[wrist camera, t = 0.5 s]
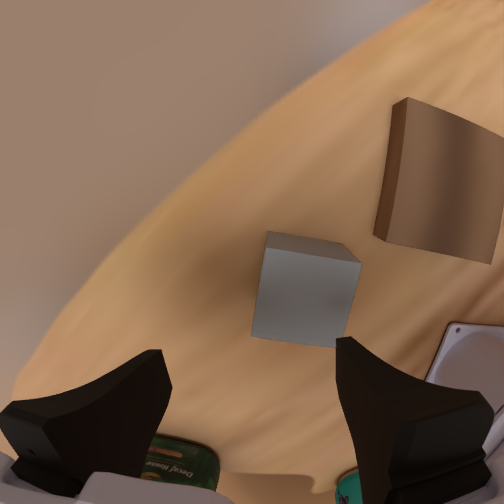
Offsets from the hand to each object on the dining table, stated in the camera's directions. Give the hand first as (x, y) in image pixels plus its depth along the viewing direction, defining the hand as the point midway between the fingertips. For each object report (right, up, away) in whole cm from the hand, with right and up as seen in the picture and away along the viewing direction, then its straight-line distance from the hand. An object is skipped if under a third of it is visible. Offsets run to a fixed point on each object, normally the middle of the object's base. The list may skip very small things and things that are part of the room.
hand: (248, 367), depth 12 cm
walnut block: (+13, +9, +7) cm, 18 cm away
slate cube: (+3, +3, +9) cm, 10 cm away
